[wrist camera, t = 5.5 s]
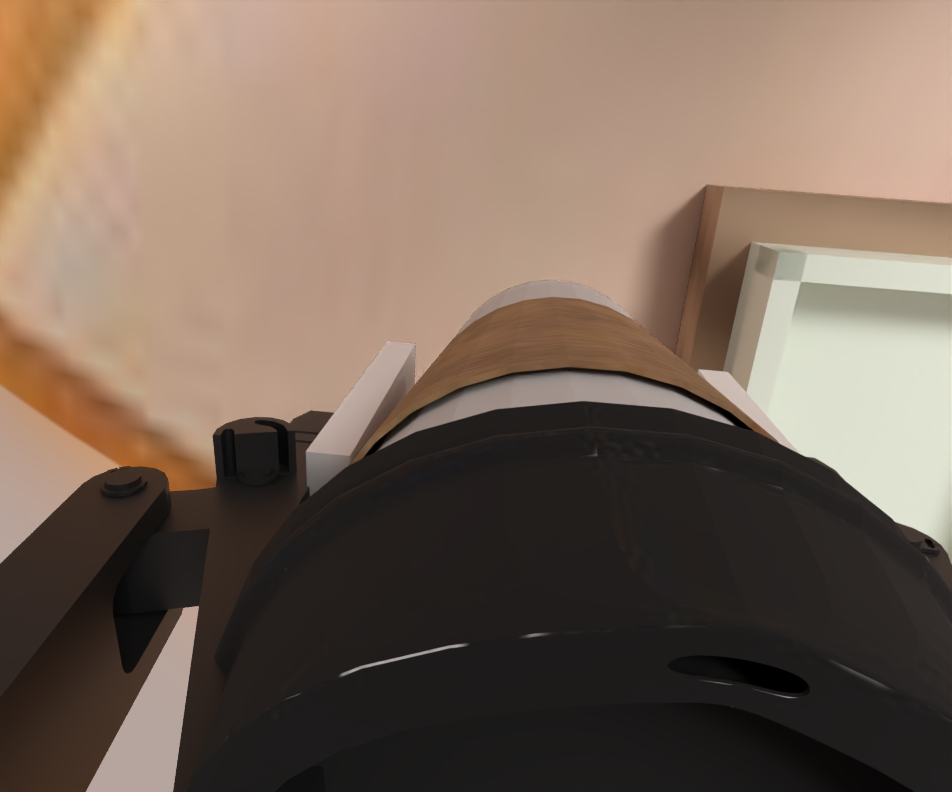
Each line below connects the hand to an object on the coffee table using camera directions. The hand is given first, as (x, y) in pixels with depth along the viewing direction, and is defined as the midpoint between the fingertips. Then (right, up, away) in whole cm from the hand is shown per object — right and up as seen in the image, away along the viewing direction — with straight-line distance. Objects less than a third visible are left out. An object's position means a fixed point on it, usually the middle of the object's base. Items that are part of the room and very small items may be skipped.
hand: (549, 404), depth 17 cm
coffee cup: (0, +1, +2) cm, 2 cm away
